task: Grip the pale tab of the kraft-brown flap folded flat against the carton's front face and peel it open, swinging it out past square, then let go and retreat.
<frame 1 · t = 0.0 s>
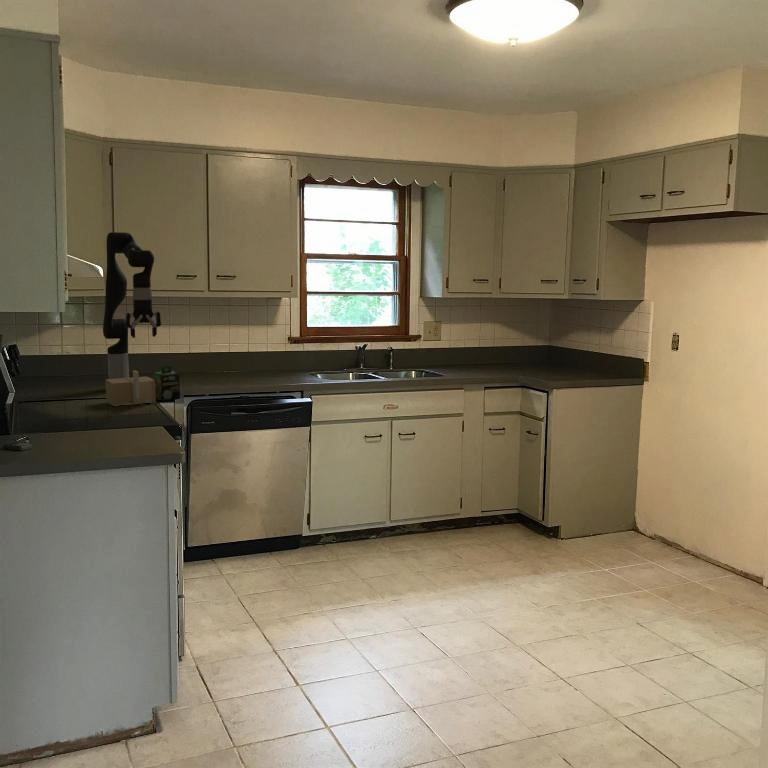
hand: (143, 337, 348), 29 cm above the counter, fingers open, 8 cm apart
carton: (131, 402, 359), on the counter
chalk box: (167, 398, 371), on the counter
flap: (143, 387, 351), point 8 cm above the counter, hinge at 0.0°
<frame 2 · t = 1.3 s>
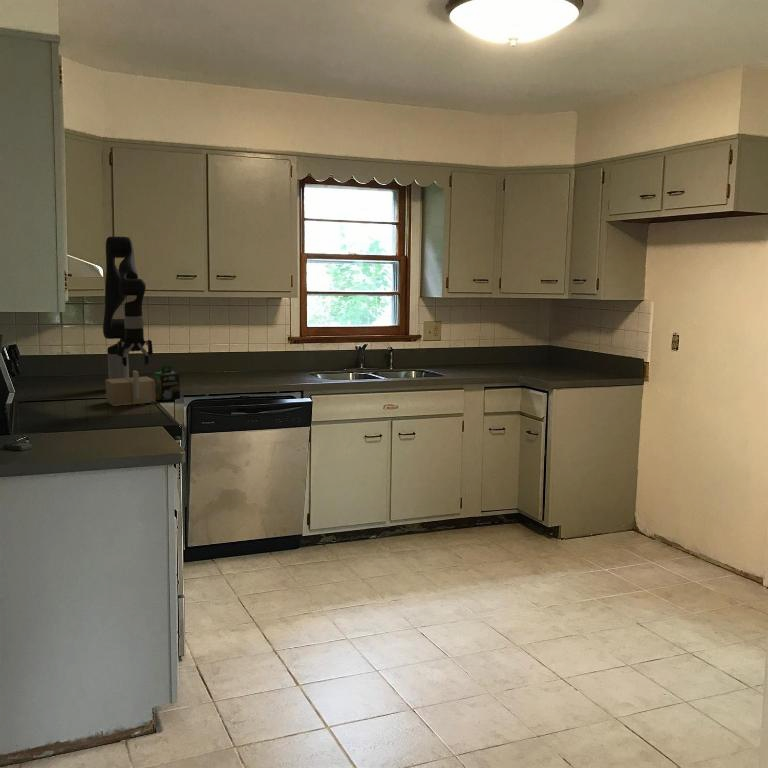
hand: (135, 365, 348), 18 cm above the counter, fingers open, 8 cm apart
nothing on the counter moved.
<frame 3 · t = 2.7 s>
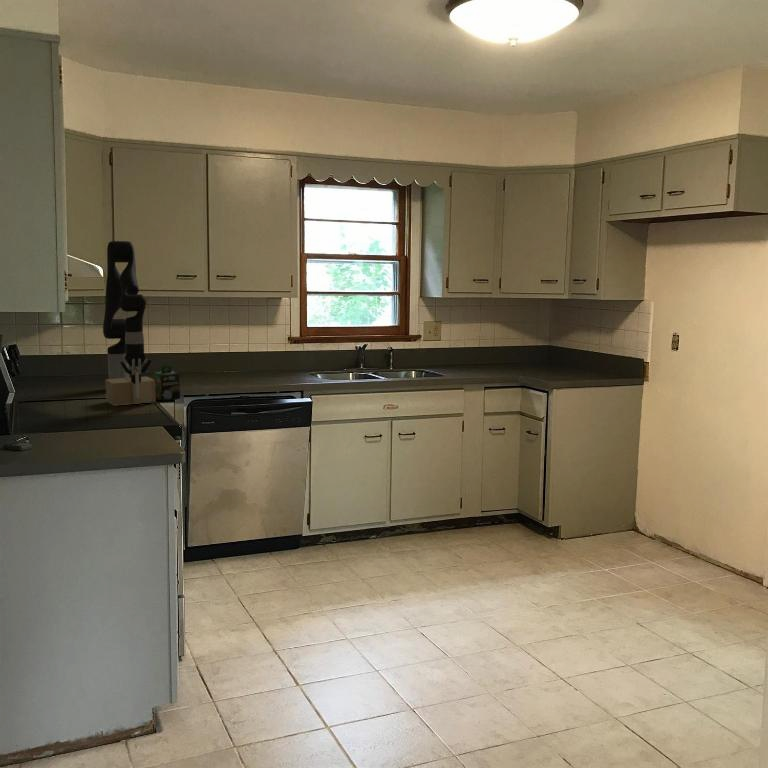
hand: (136, 383, 349), 10 cm above the counter, fingers closed
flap: (143, 387, 351), point 8 cm above the counter, hinge at 0.0°, touching gripper
everything else where it was.
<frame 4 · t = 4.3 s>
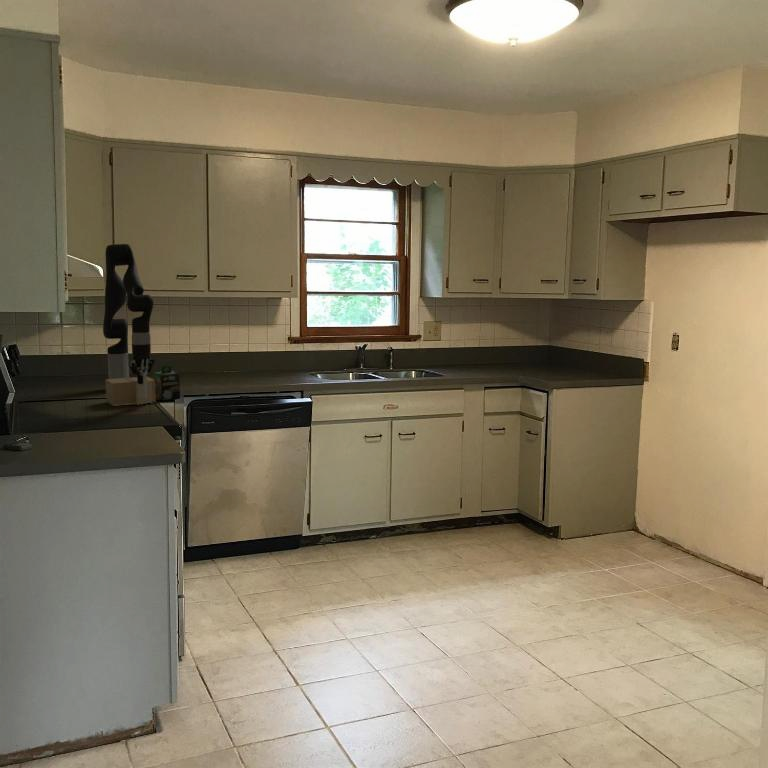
hand: (142, 383, 348), 10 cm above the counter, fingers closed
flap: (147, 388, 351), point 8 cm above the counter, hinge at 23.8°, touching gripper
everything else where it was.
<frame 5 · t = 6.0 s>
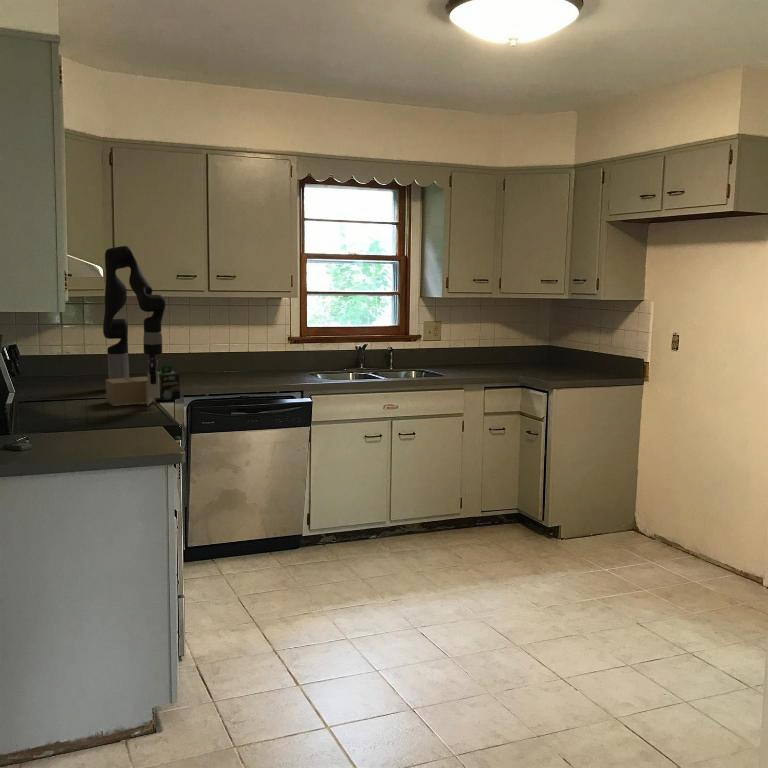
hand: (153, 383, 348), 10 cm above the counter, fingers closed on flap
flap: (154, 387, 352), point 8 cm above the counter, hinge at 59.3°, touching gripper
everything else where it was.
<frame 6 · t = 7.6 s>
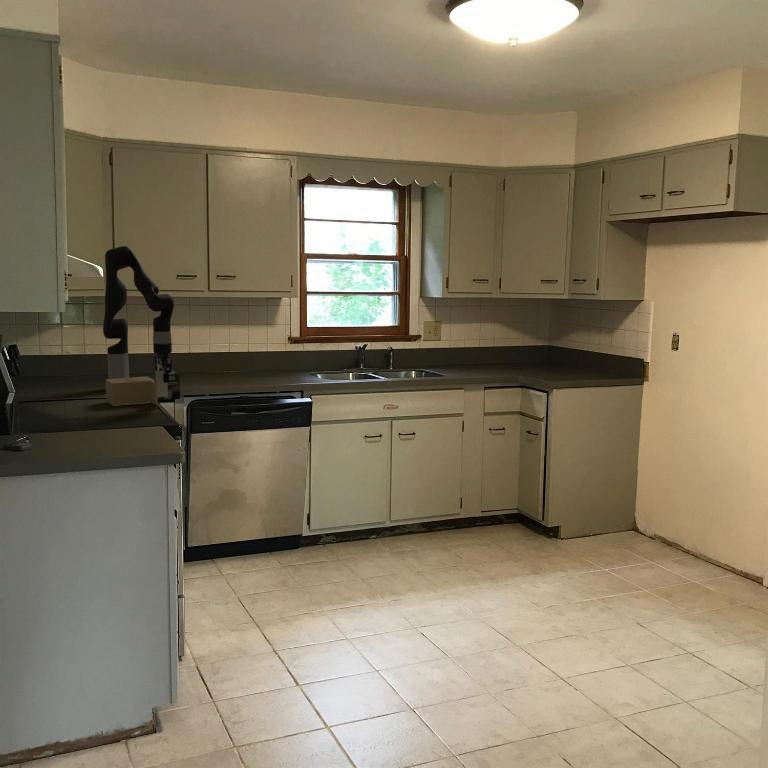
hand: (163, 381, 351), 10 cm above the counter, fingers open, 5 cm apart
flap: (159, 387, 353), point 8 cm above the counter, hinge at 87.2°
everything else where it was.
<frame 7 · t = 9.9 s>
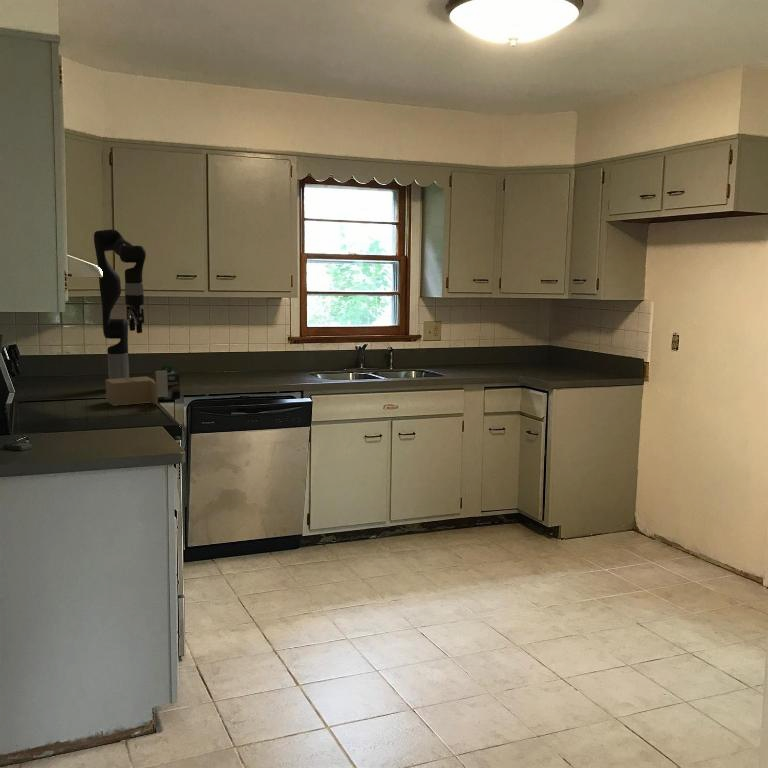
hand: (135, 331, 352), 31 cm above the counter, fingers open, 8 cm apart
nothing on the counter moved.
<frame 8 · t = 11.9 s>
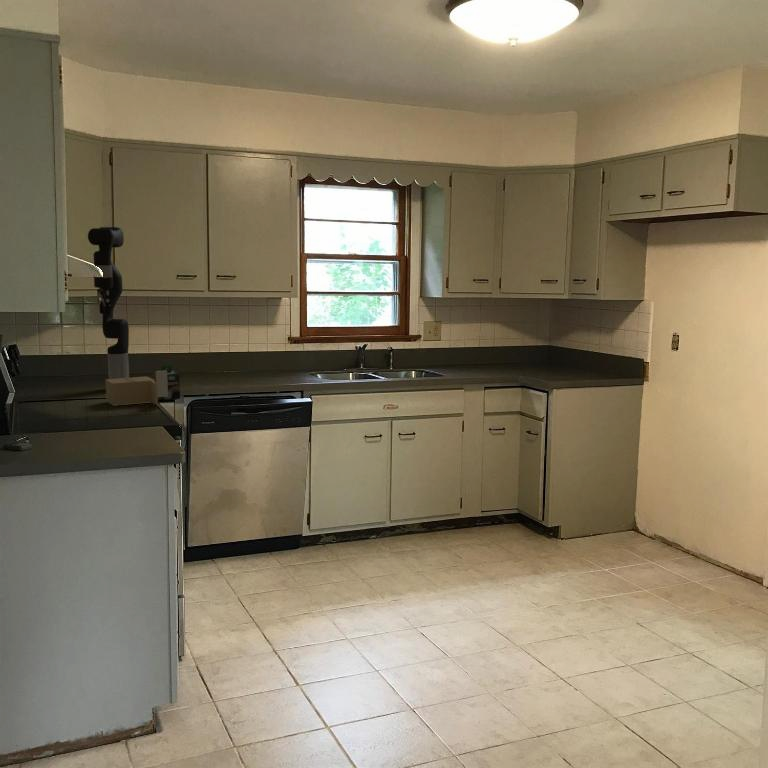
hand: (104, 314, 353), 38 cm above the counter, fingers open, 8 cm apart
nothing on the counter moved.
at the end: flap at +87° (first picture: +0°); the gripper is holding nothing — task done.
